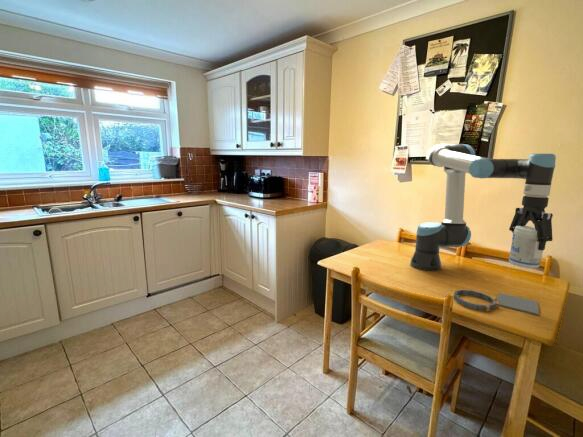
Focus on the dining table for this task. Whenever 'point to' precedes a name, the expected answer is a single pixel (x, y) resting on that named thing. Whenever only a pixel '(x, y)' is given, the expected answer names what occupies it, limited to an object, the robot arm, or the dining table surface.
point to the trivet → (518, 303)
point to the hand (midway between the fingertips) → (525, 253)
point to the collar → (473, 305)
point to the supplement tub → (524, 247)
